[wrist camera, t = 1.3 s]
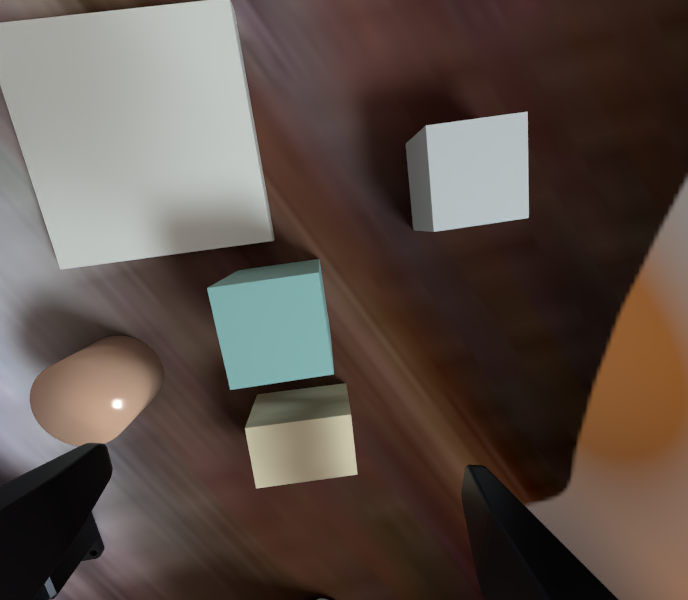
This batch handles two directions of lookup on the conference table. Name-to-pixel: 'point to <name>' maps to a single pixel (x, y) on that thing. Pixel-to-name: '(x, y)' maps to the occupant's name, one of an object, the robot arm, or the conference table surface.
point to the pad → (137, 131)
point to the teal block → (272, 324)
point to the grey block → (469, 172)
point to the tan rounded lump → (96, 390)
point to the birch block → (301, 436)
